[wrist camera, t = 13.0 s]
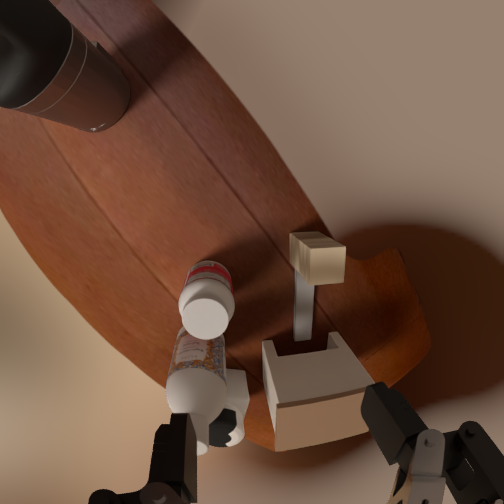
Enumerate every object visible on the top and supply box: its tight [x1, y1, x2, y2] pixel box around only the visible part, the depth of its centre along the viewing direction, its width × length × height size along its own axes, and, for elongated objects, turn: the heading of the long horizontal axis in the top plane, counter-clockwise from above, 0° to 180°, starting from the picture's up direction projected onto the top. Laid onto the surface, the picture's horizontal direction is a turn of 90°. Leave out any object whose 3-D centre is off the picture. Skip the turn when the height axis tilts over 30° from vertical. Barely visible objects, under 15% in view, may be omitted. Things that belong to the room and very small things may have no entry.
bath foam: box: [166, 326, 227, 455], centre depth 30 cm, size 7×7×20 cm
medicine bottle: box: [209, 368, 250, 447], centre depth 36 cm, size 7×7×12 cm
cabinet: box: [262, 332, 375, 452], centre depth 35 cm, size 9×13×15 cm
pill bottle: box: [179, 261, 235, 339], centre depth 32 cm, size 6×6×11 cm
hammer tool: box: [290, 232, 346, 341], centre depth 35 cm, size 16×4×9 cm, turn 2°
